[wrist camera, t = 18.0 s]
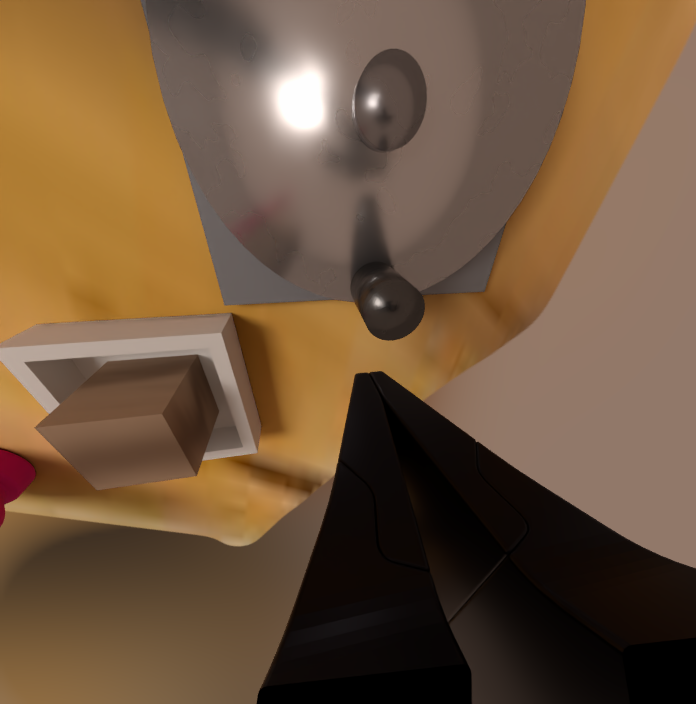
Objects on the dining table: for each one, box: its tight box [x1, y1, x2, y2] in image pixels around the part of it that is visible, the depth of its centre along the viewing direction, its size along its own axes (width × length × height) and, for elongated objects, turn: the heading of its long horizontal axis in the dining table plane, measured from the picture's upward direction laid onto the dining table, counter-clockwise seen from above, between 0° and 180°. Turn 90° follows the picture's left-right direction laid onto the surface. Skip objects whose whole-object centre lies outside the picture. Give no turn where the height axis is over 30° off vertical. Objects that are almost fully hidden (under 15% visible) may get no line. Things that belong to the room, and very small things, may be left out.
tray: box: [0, 313, 261, 460], centre depth 19 cm, size 12×12×3 cm
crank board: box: [141, 0, 506, 305], centre depth 13 cm, size 19×19×1 cm
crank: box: [145, 0, 586, 340], centre depth 10 cm, size 18×18×6 cm
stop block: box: [35, 354, 219, 490], centre depth 17 cm, size 6×6×6 cm
